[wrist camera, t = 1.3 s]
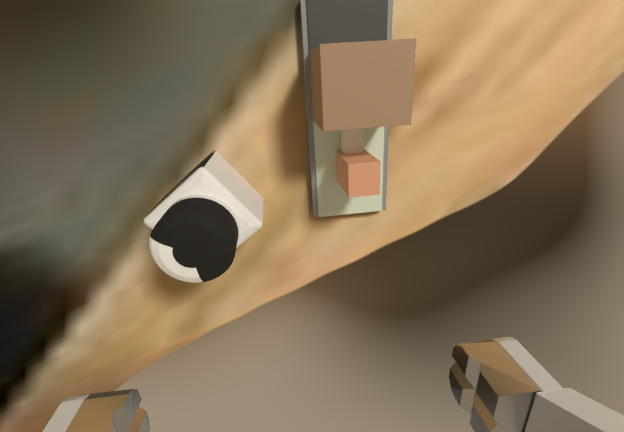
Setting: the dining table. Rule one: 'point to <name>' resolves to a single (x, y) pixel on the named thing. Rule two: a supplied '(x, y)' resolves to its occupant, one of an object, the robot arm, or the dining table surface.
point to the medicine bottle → (204, 221)
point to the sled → (357, 166)
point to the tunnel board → (352, 91)
